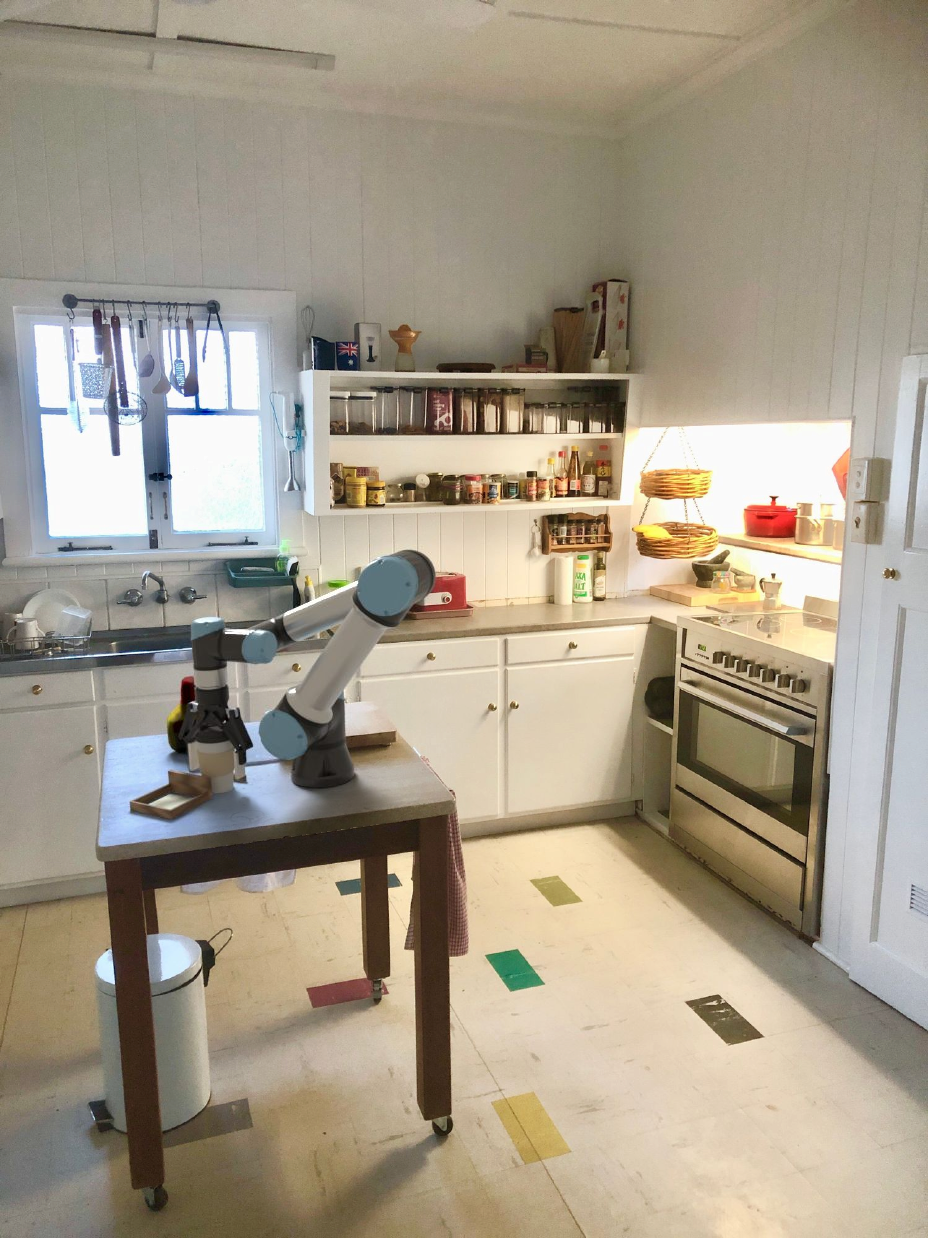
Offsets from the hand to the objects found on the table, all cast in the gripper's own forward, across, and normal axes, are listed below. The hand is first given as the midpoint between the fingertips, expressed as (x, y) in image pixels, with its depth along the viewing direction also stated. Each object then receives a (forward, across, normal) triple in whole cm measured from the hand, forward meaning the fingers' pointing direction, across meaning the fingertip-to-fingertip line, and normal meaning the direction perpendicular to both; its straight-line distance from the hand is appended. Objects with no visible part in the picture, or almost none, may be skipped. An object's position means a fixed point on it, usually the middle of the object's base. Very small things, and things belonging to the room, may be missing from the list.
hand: (217, 773), depth 221 cm
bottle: (+4, +24, -18) cm, 30 cm away
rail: (+4, +3, -6) cm, 8 cm away
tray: (+4, +3, +12) cm, 13 cm away
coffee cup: (+4, 0, 0) cm, 4 cm away
